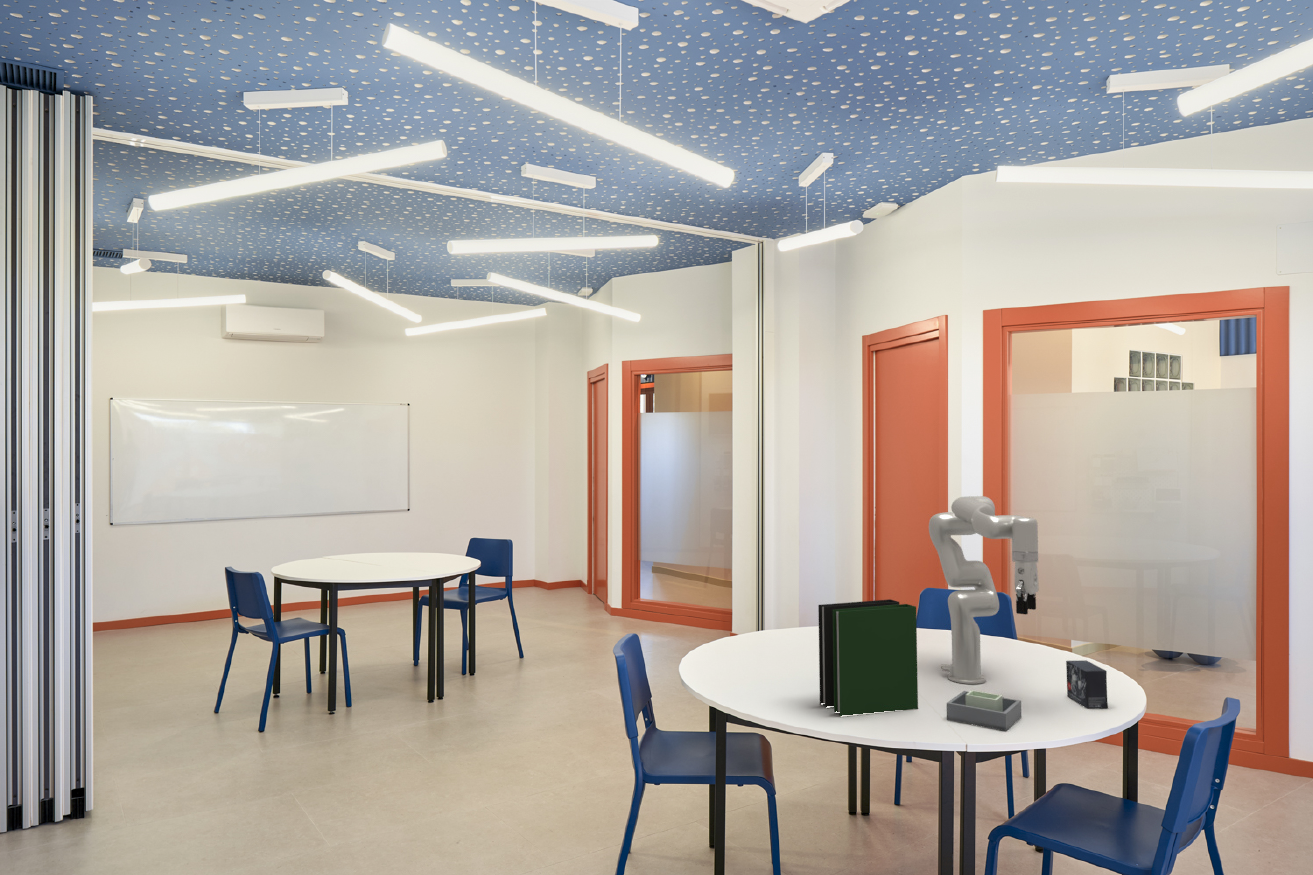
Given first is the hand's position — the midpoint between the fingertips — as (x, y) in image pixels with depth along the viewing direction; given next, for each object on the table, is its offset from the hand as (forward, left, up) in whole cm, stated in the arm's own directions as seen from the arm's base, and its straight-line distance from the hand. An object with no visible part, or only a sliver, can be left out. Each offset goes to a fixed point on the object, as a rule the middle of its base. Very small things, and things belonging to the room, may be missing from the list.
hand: (1026, 611), depth 252 cm
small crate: (-8, -18, -29) cm, 35 cm away
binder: (-41, -28, -31) cm, 58 cm away
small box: (+13, +18, -31) cm, 38 cm away
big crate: (-8, -18, -30) cm, 36 cm away
